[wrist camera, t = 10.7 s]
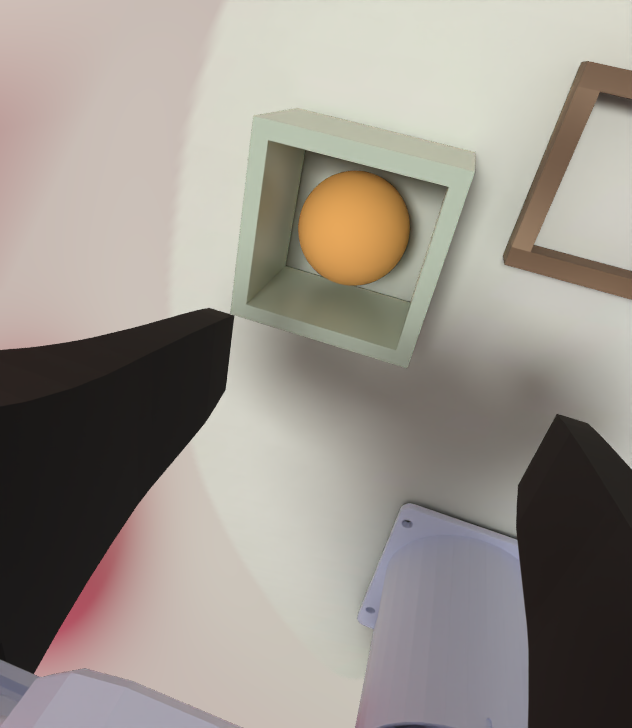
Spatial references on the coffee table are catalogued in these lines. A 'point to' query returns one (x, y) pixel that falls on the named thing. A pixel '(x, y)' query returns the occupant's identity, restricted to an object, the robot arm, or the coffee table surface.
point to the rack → (548, 179)
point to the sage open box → (275, 218)
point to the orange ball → (354, 228)
